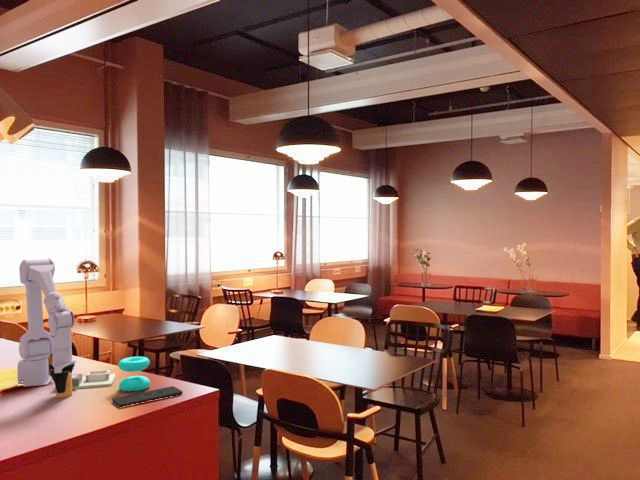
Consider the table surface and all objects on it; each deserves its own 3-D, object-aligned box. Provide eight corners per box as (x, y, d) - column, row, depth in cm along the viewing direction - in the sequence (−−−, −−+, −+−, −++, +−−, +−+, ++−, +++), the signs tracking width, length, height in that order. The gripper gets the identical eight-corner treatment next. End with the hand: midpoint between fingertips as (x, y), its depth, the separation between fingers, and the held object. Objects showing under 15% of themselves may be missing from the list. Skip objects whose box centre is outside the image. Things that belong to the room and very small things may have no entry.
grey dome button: (56, 388, 182) (56, 380, 182) (60, 382, 189) (60, 375, 189) (78, 386, 184) (78, 378, 184) (82, 380, 191) (82, 373, 191)
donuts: (130, 364, 176) (112, 360, 182) (131, 394, 176) (112, 390, 182) (155, 357, 184) (137, 354, 190) (156, 387, 184) (137, 382, 190)
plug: (55, 397, 174) (54, 376, 174) (57, 394, 177) (56, 373, 177) (71, 396, 176) (70, 374, 176) (72, 393, 179) (72, 372, 178)
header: (86, 381, 190) (85, 375, 190) (88, 377, 196) (88, 371, 196) (108, 379, 192) (108, 373, 192) (110, 375, 198) (110, 369, 198)
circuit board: (54, 390, 182) (54, 388, 182) (63, 379, 196) (63, 377, 196) (111, 385, 187) (111, 383, 187) (116, 375, 200) (116, 373, 200)
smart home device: (183, 391, 175) (120, 404, 162) (183, 396, 175) (120, 410, 162) (172, 385, 181) (111, 397, 169) (173, 390, 181) (111, 403, 169)
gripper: (71, 351, 170) (72, 395, 170) (79, 342, 184) (80, 382, 184) (46, 353, 168) (47, 397, 169) (56, 344, 182) (57, 384, 183)
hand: (63, 389), depth 176 cm, fingers open, 6 cm apart
